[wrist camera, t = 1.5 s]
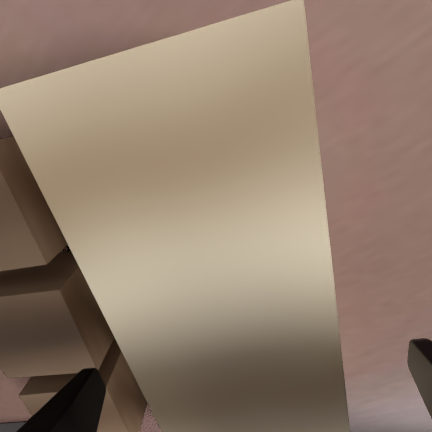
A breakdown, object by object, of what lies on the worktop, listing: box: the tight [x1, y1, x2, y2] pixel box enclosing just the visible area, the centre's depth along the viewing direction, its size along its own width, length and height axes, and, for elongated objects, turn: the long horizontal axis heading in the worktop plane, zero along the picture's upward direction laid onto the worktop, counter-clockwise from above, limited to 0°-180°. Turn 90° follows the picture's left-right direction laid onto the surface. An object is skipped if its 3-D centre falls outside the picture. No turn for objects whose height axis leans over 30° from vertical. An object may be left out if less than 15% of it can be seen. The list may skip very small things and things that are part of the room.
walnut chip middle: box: [0, 251, 114, 378], centre depth 13 cm, size 4×4×3 cm
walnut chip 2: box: [19, 337, 147, 432], centre depth 14 cm, size 4×4×3 cm
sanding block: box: [0, 0, 350, 432], centre depth 10 cm, size 16×5×6 cm, turn 14°
